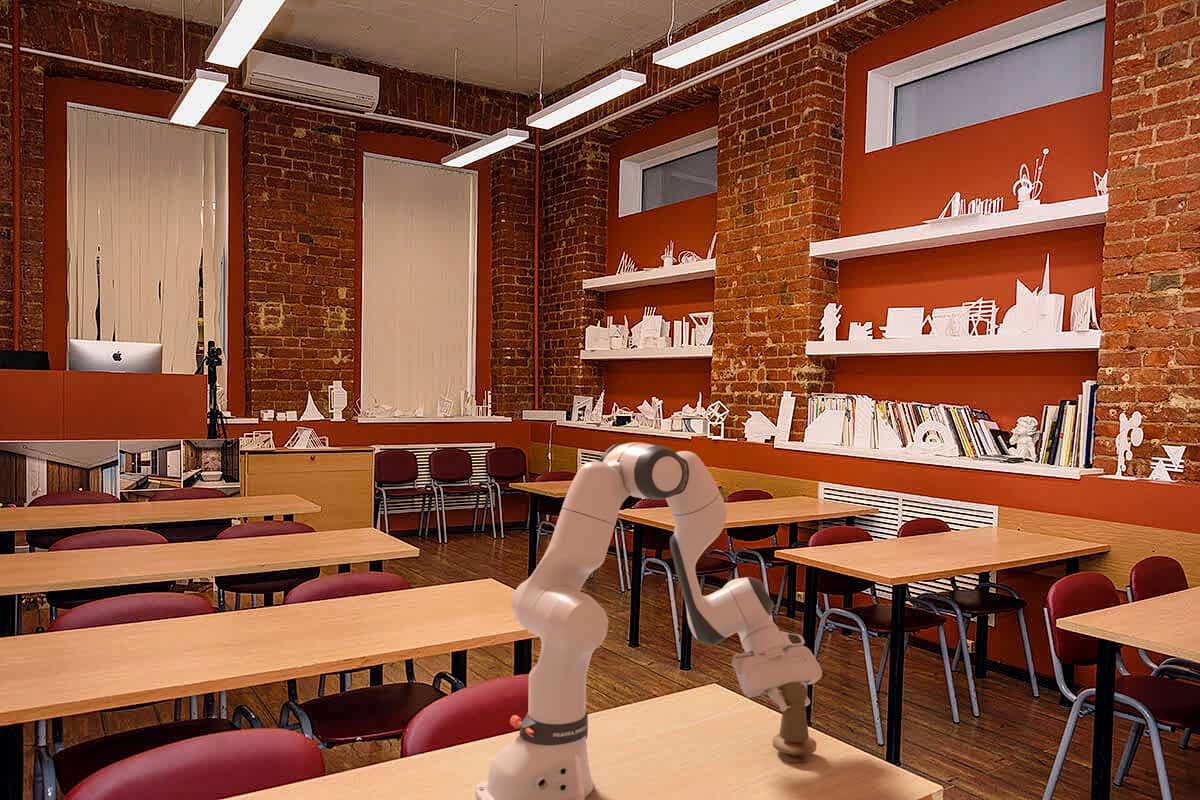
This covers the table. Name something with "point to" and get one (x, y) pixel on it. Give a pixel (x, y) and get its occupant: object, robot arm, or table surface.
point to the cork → (794, 713)
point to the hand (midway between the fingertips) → (796, 707)
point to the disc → (794, 749)
